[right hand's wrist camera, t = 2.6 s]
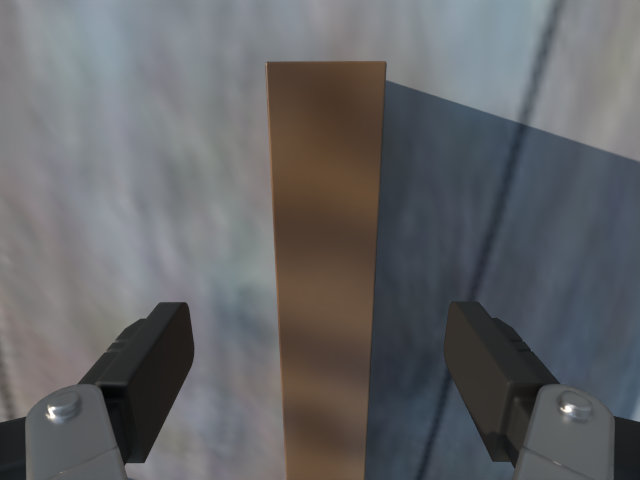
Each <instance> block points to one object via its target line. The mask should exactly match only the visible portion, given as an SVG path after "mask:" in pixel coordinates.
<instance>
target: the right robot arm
mask: <svg viewBox="0 0 640 480" xmlns="http://www.w3.org/2000/svg"><path fill="white" fill-rule="evenodd" d="M444 357H445V362H446V365H447V367H448V370H449V372H450V374H451V376H452V378H453V380H454V382H455V384H456V386H457V388H458V390H459V392H460V394H461V397H462V399H463V401H464V403H465V405H466V407H467V409H468V411H469V413H470V415H471V417H472V419H473V421H474V424H475V426H476V428H477V430H478V432H479V434H480V436H481V438H482V440H483V442H484V444H485V446H486V448H487V451H488V453H489V455H490V457H491V459H492V461H493V462H511V463H512V465H513V467H514V468H515V471H514V474H513V478H512V480H640V422H637V421H633V420H629V419H624V418H620V417H615V416H613V414H612V413H611V411H610V410H609V409H608V408H607V406H606V405H604V404H603V403H602V402H601V401H600V400H598V399H597V398H596V397H594V396H592V395H591V394H589V393H587V392H585V391H583V390H580V389H578V388H575V387H572V386H568V385H563V384H560V383H559V382H558V381H557V380H556V378H555V377H554V376H553V375H552V374H551V373H550V371H549V370H548V369H547V368H546V367H545V365H544V364H543V363H542V362H541V361H540V360H539V358H538V357H537V356H536V355H535V354H534V353H533V352H531V349H530V348H529V347H528V346H527V344H526V343H525V342H522V339H521V337H520V336H519V335H518V334H517V333H516V332H515V330H514V329H513V328H512V327H510V326H509V325H507V324H506V323H504V322H502V321H501V320H499V319H498V318H491V317H490V316H489V314H488V313H487V312H486V311H485V309H484V308H483V307H482V306H481V304H480V303H479V302H452V303H451V304H450V306H449V312H448V319H447V326H446V334H445V341H444ZM193 358H194V341H193V334H192V326H191V319H190V312H189V307H188V305H187V303H185V302H161V303H159V304H158V305H157V306H156V307H155V308H154V310H153V311H152V312H151V313H150V315H149V316H148V317H147V318H146V319H140V320H138V321H136V322H135V323H133V324H132V325H130V326H129V327H127V328H125V329H124V331H123V332H122V333H121V334H120V335H119V336H118V338H117V339H116V340H115V343H112V345H111V346H110V347H109V348H108V349H107V352H106V353H104V354H103V355H102V356H101V357H100V358H99V360H98V361H97V362H96V363H95V364H94V365H93V367H92V368H91V369H90V370H89V371H88V372H87V374H86V375H85V376H84V377H83V378H82V379H81V381H80V382H79V383H78V384H77V385H72V386H68V387H65V388H62V389H60V390H57V391H55V392H53V393H51V394H49V395H48V396H46V397H44V398H43V399H42V400H40V401H39V402H38V403H37V404H36V405H34V406H33V408H32V409H31V410H30V411H29V413H28V414H27V416H26V417H23V418H18V419H14V420H10V421H5V422H1V423H0V480H128V478H127V474H126V471H125V467H124V466H125V464H126V463H145V461H146V459H147V457H148V454H149V452H150V450H151V448H152V446H153V444H154V442H155V440H156V438H157V436H158V434H159V432H160V430H161V428H162V426H163V424H164V422H165V420H166V418H167V416H168V413H169V411H170V409H171V407H172V405H173V403H174V401H175V399H176V397H177V395H178V393H179V391H180V389H181V387H182V385H183V383H184V381H185V379H186V377H187V374H188V372H189V370H190V368H191V366H192V363H193Z"/></svg>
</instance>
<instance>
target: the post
mask: <svg viewBox="0 0 640 480" xmlns="http://www.w3.org/2000/svg"><path fill="white" fill-rule="evenodd" d="M386 66H387V64H386V62H385V61H311V62H266V64H265V68H266V87H267V107H268V127H269V147H270V167H271V187H272V207H273V227H274V247H275V267H276V286H277V306H278V326H279V346H280V366H281V386H282V406H283V426H284V446H285V466H286V480H365V464H366V445H367V426H368V407H369V388H370V369H371V350H372V331H373V312H374V293H375V274H376V255H377V236H378V217H379V198H380V179H381V160H382V141H383V123H384V104H385V85H386Z"/></svg>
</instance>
